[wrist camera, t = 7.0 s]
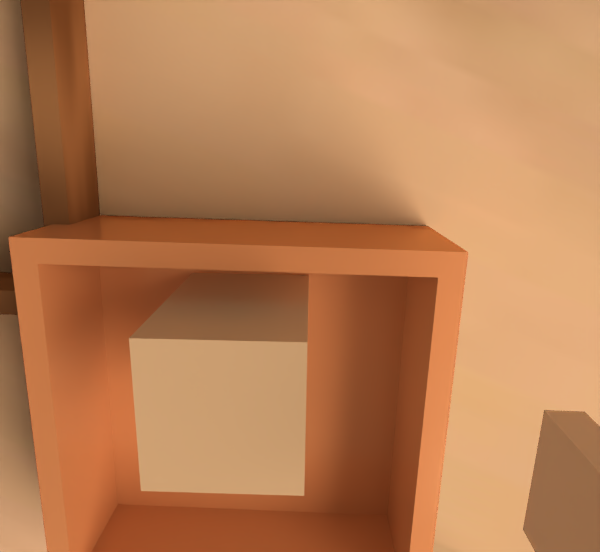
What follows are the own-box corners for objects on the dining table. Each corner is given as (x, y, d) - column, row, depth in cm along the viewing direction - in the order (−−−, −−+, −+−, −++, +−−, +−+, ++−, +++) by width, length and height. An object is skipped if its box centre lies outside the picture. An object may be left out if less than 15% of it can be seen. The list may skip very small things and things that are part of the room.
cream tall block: (196, 379, 18) (140, 491, 12) (192, 272, 17) (129, 338, 11) (306, 381, 18) (304, 495, 12) (308, 275, 17) (307, 342, 11)
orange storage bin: (85, 214, 17) (8, 237, 13) (427, 225, 17) (468, 252, 13) (109, 503, 20) (53, 602, 16) (400, 516, 20) (424, 619, 16)
